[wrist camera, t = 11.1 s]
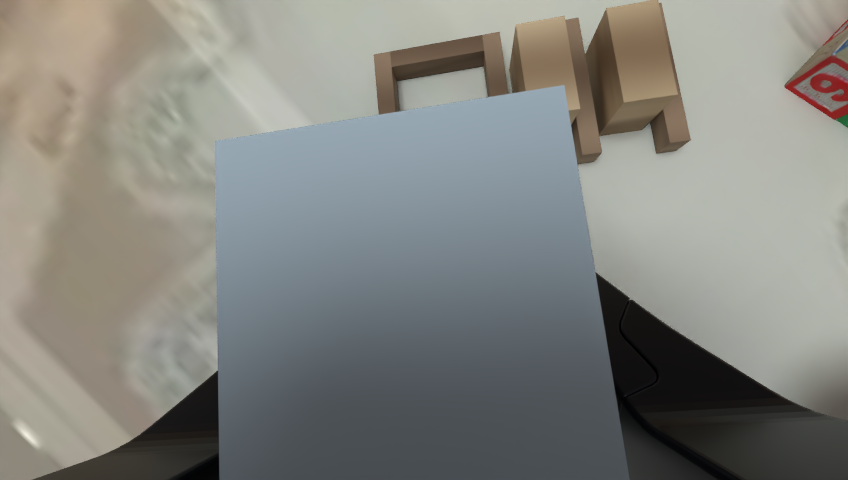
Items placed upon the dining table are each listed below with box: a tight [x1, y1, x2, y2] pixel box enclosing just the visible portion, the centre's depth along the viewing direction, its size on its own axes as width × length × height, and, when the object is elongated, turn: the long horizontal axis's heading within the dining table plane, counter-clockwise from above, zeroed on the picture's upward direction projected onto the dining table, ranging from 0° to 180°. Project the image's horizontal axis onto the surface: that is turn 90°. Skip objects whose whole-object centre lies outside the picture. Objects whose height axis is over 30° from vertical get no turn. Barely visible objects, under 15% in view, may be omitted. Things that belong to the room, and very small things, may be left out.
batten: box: [215, 85, 630, 480], centre depth 10 cm, size 4×4×12 cm
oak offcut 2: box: [585, 0, 678, 136], centre depth 20 cm, size 5×2×4 cm, turn 6°
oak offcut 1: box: [509, 16, 580, 124], centre depth 21 cm, size 5×2×4 cm, turn 6°
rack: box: [374, 3, 691, 164], centre depth 22 cm, size 8×16×2 cm, turn 96°
